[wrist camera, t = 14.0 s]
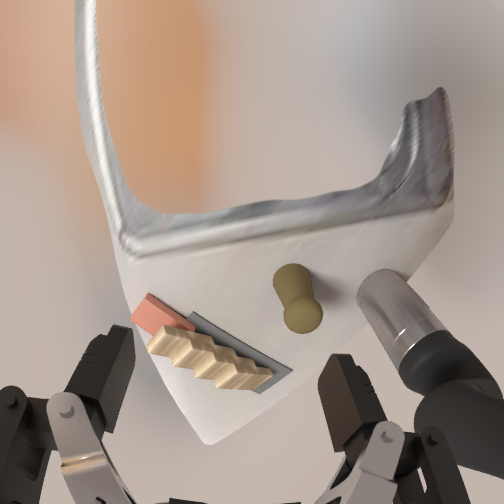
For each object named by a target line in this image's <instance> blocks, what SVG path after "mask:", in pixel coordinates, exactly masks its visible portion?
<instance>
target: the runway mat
mask: <svg viewBox="0 0 504 504" xmlns="http://www.w3.org/2000/svg"><path fill="white" fill-rule="evenodd" d="M186 320H187V321H189V322H190V323H192V324H193V325H195V326H196V327H195V331H194V332H195V333H199V334H203V335H207V336H212V338H213V341H214V344H215V345H218V346H223V347H229V348H234V350H235V352H236V355H237V357H242V358H249V359H253V360H254V362H255V365H256V367H263V368H270V369H271V371H272V373H273V375H274V376H272V377H271V378H270V379H268V380H267V381H265V382H264V383H263V384H261V385H260V386H258V387H257V388H256V389H254V390H252V391H254V392H256V393H258V394H261V393H262V392H264V391H265V390H266V389H268V388H269V387H271V386H272V385H274V384H275V383H276V382H278V381H279V380H281V379H282V378H283V377H285V376H286V375H288V374H289V373H290V372H292V369H290V368H288V367H286V366H284V365H282V364H281V363H279V362H277V361H275V360H273V359H271V358H270V357H268V356H266V355H264V354H262V353H261V352H259V351H257V350H255V349H254V348H252V347H250V346H248V345H247V344H245V343H243V342H242V341H240V340H238V339H237V338H235V337H233V336H232V335H230V334H228V333H227V332H225V331H223V330H222V329H220V328H218V327H217V326H215V325H214V324H212V323H210V322H209V321H207V320H206V319H204V318H202V317H201V316H199V315H198V314H196V313H195V312H192V313H191V314H190V316H189V317H188V318H187V319H186Z"/></svg>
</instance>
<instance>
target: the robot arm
mask: <svg viewBox="0 0 504 504" xmlns="http://www.w3.org/2000/svg"><path fill="white" fill-rule="evenodd" d="M357 302H358V305H359V307H360V309H361V310H362V312H363V314H364V315H365V317H366V318H367V320H368V322H369V323H370V325H371V327H372V328H373V330H374V332H375V333H376V335H377V337H378V339H379V340H380V342H381V344H382V345H383V347H384V349H385V350H386V352H387V354H388V356H389V357H390V359H391V361H392V362H393V364H394V366H395V368H396V370H397V371H398V373H399V375H400V377H401V379H402V381H403V383H404V384H405V385H406V387H407V388H409V389H410V390H412V391H414V392H417V393H419V394H421V395H423V396H425V397H424V398H423V400H422V401H421V402H420V404H419V406H418V407H417V410H416V413H415V417H414V430H415V433H411V432H403V430H402V429H401V427H400V426H398V425H397V424H396V423H394V422H391V421H388V420H387V418H386V415H385V413H384V411H383V408H382V406H381V404H380V402H379V399H378V397H377V395H376V393H375V390H374V388H373V386H372V385H371V382H370V379H369V377H368V375H367V373H366V372H365V371H364V370H363V369H362V368H361V367H360V366H356V365H355V363H354V360H353V358H352V356H351V355H350V354H332V355H331V356H330V357H329V359H328V361H327V363H326V366H325V367H324V369H323V371H322V373H321V375H320V377H319V380H318V391H319V395H320V399H321V403H322V406H323V410H324V414H325V417H326V421H327V425H328V429H329V433H330V436H331V440H332V444H333V448H334V451H335V452H342V451H345V454H346V456H345V457H344V458H343V460H342V462H341V464H340V465H339V467H338V469H337V471H336V473H335V475H334V477H333V478H332V480H331V482H330V483H329V485H328V487H327V489H326V490H325V492H324V493H323V494H322V495H321V496H320V497H319V498H318V499H317V501H316V502H315V503H314V504H391V503H392V502H393V504H471V503H470V500H469V497H468V494H467V491H466V488H465V485H464V482H463V480H462V477H461V474H460V471H459V469H458V466H457V465H460V466H463V467H466V468H469V469H473V470H476V471H480V472H483V473H486V474H490V475H492V476H496V477H498V478H501V479H504V399H503V396H502V393H501V390H500V388H499V386H498V384H497V382H496V381H495V379H494V378H493V377H492V375H491V374H490V373H489V371H488V370H487V369H486V368H485V366H484V365H483V364H482V363H481V362H480V360H479V359H478V358H477V357H476V356H475V355H474V354H473V352H472V351H471V350H470V349H469V348H468V347H467V346H465V345H464V344H463V343H461V342H459V341H458V340H457V339H455V338H454V337H453V336H452V334H451V333H450V332H449V331H448V330H447V329H446V327H445V326H444V325H443V324H442V323H441V321H440V320H439V319H438V318H437V317H436V316H435V315H434V314H433V312H432V311H431V310H430V308H429V306H428V305H427V304H426V303H425V302H424V301H423V300H422V299H421V298H420V296H419V295H418V294H417V293H416V292H415V291H414V290H413V289H412V288H411V287H410V286H409V285H408V284H407V283H406V282H405V281H404V280H402V279H401V278H400V276H399V275H398V274H396V273H395V272H394V271H392V270H380V271H377V272H375V273H373V274H372V275H370V276H369V277H368V278H367V279H366V280H365V281H364V282H363V283H362V285H361V287H360V289H359V291H358V294H357ZM134 366H135V348H134V338H133V330H132V329H131V328H128V327H123V326H119V325H113V326H112V327H111V329H110V331H109V333H108V335H107V336H106V335H102V334H100V335H98V336H97V337H96V338H94V339H93V340H92V341H91V342H90V343H89V345H88V347H87V349H86V351H85V353H84V354H83V356H82V358H81V361H80V362H79V364H78V365H77V367H76V369H75V371H74V373H73V375H72V377H71V379H70V381H69V383H68V385H67V387H66V389H65V390H64V391H63V392H60V393H57V394H55V395H53V396H52V397H51V398H50V399H40V398H31V397H27V396H26V395H25V393H24V392H23V391H22V390H21V389H20V388H19V387H16V386H7V387H4V388H3V389H1V390H0V504H39V500H40V495H41V490H42V486H43V481H44V477H45V473H46V469H47V465H48V461H49V458H50V454H51V451H52V450H56V451H59V454H60V457H61V459H62V465H61V470H62V473H63V476H64V479H65V481H66V483H67V486H68V488H69V490H70V493H71V495H72V496H73V499H74V501H75V503H76V504H137V503H136V501H135V499H134V498H133V497H132V495H131V493H130V492H129V490H128V488H127V487H126V485H125V484H124V482H123V481H122V479H121V477H120V475H119V474H118V472H117V470H116V468H115V466H114V464H113V462H112V461H111V459H110V457H109V455H108V453H107V450H106V449H105V446H104V444H103V442H102V437H103V434H104V431H106V432H109V433H113V431H114V428H115V425H116V421H117V418H118V415H119V411H120V408H121V405H122V402H123V399H124V396H125V393H126V390H127V387H128V384H129V381H130V378H131V375H132V373H133V369H134ZM420 467H421V469H422V472H423V475H424V478H425V481H426V485H427V490H426V492H425V493H424V490H423V487H422V483H421V480H420V477H419V474H418V471H417V469H419V468H420ZM157 504H206V503H203V502H194V501H187V500H180V499H173V498H170V500H169V502H168V503H157ZM284 504H301V502H296V503H284Z"/></svg>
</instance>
